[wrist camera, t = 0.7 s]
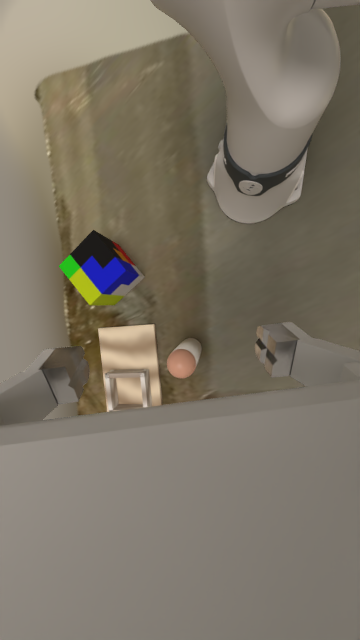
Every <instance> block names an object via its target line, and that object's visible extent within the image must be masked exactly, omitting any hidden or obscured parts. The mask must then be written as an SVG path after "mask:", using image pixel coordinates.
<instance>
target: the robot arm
mask: <svg viewBox="0 0 360 640" xmlns="http://www.w3.org/2000/svg"><path fill="white" fill-rule="evenodd" d="M151 2H152V3H153V4H154V6H155V7H156V8H158V9H159V10H161V11H162V12H164V13H165V14H167V15H168V16H170V17H171V18H173V19H174V20H175V21H176V22H178V23H179V24H180V25H181V26H182V27H184V28H185V29H186V30H187V31H188V32H189V33H190V34H191V35H192V36H193V37H194V38H195V39H196V41H197V42H198V43H199V44H200V45H201V47H202V48H203V49H204V50H205V52H206V53H207V55H208V56H209V58H210V59H211V61H212V62H213V64H214V66H215V67H216V69H217V71H218V73H219V75H220V77H221V79H222V82H223V84H224V88H225V91H226V100H227V123H226V126H225V130H224V138H223V140H221V141H220V143H219V146H218V149H219V150H220V151H219V153H218V154H217V155H216V156H215V161H214V163H213V165H212V167H211V169H210V171H209V173H208V175H207V183H208V184H209V186H210V187H211V188H212V189H213V191H214V192H215V194H216V198H217V201H218V204H219V206H220V208H221V209H222V211H223V212H224V213H225V214H226V215H227V216H228V217H229V218H231V219H233V220H235V221H237V222H241V223H257V222H260V221H263V220H265V219H267V218H269V217H271V216H272V215H274V214H275V213H276V212H277V211H278V210H280V209H281V208H282V207H284V206H287V205H290V204H292V203H294V202H296V201H297V200H298V199H299V197H300V195H301V190H302V183H303V177H304V170H305V163H306V156H307V150H308V146H309V144H310V141H311V138H312V134H313V131H314V129H315V127H316V126H317V124H318V122H319V120H320V118H321V116H322V115H323V113H324V111H325V109H326V107H327V105H328V104H329V102H330V100H331V98H332V96H333V94H334V91H335V88H336V85H337V82H338V78H339V73H340V65H341V53H340V45H339V42H338V38H337V34H336V31H335V28H334V25H333V23H332V21H331V19H330V18H329V16H328V15H327V14H326V12H325V11H324V10H323V9H322V8H331V7H341V6H350V5H359V4H360V0H151ZM295 189H296V190H295ZM256 335H257V336H258V337H259V339H258V340H257V341H256V342H255V352H256V356H257V358H258V359H259V361H260V362H262V363H264V364H265V365H264V368H265V369H266V371H267V372H268V374H269V375H270V376H271V377H281V376H290V377H292V378H294V379H295V380H297V381H299V382H300V383H302V384H303V385H305V386H307V387H300V388H292V389H284V390H276V391H269V392H261V393H253V394H245V395H237V396H229V397H222V398H214V399H206V400H198V401H190V402H182V403H174V404H167V405H159V406H151V407H143V408H135V409H127V410H119V411H112V412H104V413H96V414H88V415H80V416H72V417H64V418H57V419H49V420H43V419H44V418H45V417H46V416H47V415H48V414H49V413H50V412H51V411H52V410H54V408H56V407H57V406H58V404H63V403H71V402H77V401H79V399H80V397H81V395H82V393H83V390H84V389H83V385H84V384H85V383H87V381H88V379H89V372H90V370H89V365H88V362H87V361H86V360H85V359H83V357H84V354H85V353H84V350H83V348H82V347H81V346H71V347H61V348H51V349H45V350H43V351H42V352H41V353H40V354H39V356H38V357H37V358H36V359H35V360H34V361H33V362H32V364H31V365H30V366H29V367H28V368H27V369H26V370H25V371H24V372H20V373H18V374H16V375H14V376H12V377H10V378H9V379H7V380H5V381H3V382H1V383H0V640H360V351H358V350H354V349H351V348H348V347H344V346H341V345H338V344H334V343H331V342H328V341H325V340H321V339H318V338H312V337H310V336H309V335H308V334H307V333H305V332H304V331H303V330H301V329H300V328H299V327H297V326H296V325H295V324H294V323H292V322H285V323H277V324H270V325H263V326H258V328H257V331H256Z"/></svg>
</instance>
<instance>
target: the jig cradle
mask: <svg viewBox="0 0 360 640" xmlns="http://www.w3.org/2000/svg"><path fill="white" fill-rule="evenodd" d="M98 331H99V340H100V349H101V359H102V368H103V377H104V386H105V395H106V404H107V412H112V411H119V410H127V409H135V408H143V407H151V406H159V405H163V403H162V392H161V381H160V371H159V360H158V349H157V339H156V328H155V324H147V325H134V326H120V327H107V328H98Z"/></svg>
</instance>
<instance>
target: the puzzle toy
mask: <svg viewBox="0 0 360 640" xmlns="http://www.w3.org/2000/svg"><path fill="white" fill-rule="evenodd" d="M59 267H60V268H61V269H62V271H63V272H64V273H65V274H66V276H67V277H68V278H69V280H70V281H71V282H72V283H73V285H74V286H75V287H76V288H77V290H78V291H79V292H80V293H81V295H82V296H83V297H84V298H85V300H86V301H87V302H88V304H89V305H115V304H116V303H117V302H119V301H120V300H121V299H122V298H123V297H124V296H125V295H126V294H127V293H128V292H129V291H130V290H131V289H133V288H134V287H135V286H136V285H137V284H138V283H139V282H140V281H141V280H142V279H143V278H144V276H143V274H142V273H141V272H140V271H139V269H138V268H137V267H136V266H135V265H134V263H133V262H132V261H131V260H130V258H129V257H128V256H127V255H126V254H125V252H124V251H123V250H122V249H121V247H120V246H119V245H118V244H116V243H115V242H113V241H111V240H109V239H108V238H106V237H104V236H103V235H101V234H99V233H98V232H96V231H94V230H93V231H92V232H91V233H90V234H89V235H88V236H87V237H86V238H85V239H84V240H83V241H82V242H81V243H80V245H79V246H78V247H77V248H76V249H75V250H74V251H73V252H72V253H71V254H70V255H69V256H68V257H67V258H66V259H65V260H64V261H63V262H62V263H61V265H60V266H59Z"/></svg>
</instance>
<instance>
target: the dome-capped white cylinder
mask: <svg viewBox="0 0 360 640" xmlns="http://www.w3.org/2000/svg"><path fill="white" fill-rule="evenodd" d="M201 351H202V346H201V344H200V342H199V341H198V340H196V339H194V338H187V339H185V340H183V341H182V342H181V343H180V344H179V346H178V347H177V348H176V349H175V350H174V351H173V352H172V353H171V354H170V355H169V357H168V360H167V367H168V370H169V372H170V373H171V374H172V375H173V376H175V377H177V378H186V377H189V376H190V375H191V374H192V373H193V372H194V370H195V368H196V365H197V363H198V360H199V357H200V354H201Z"/></svg>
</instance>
